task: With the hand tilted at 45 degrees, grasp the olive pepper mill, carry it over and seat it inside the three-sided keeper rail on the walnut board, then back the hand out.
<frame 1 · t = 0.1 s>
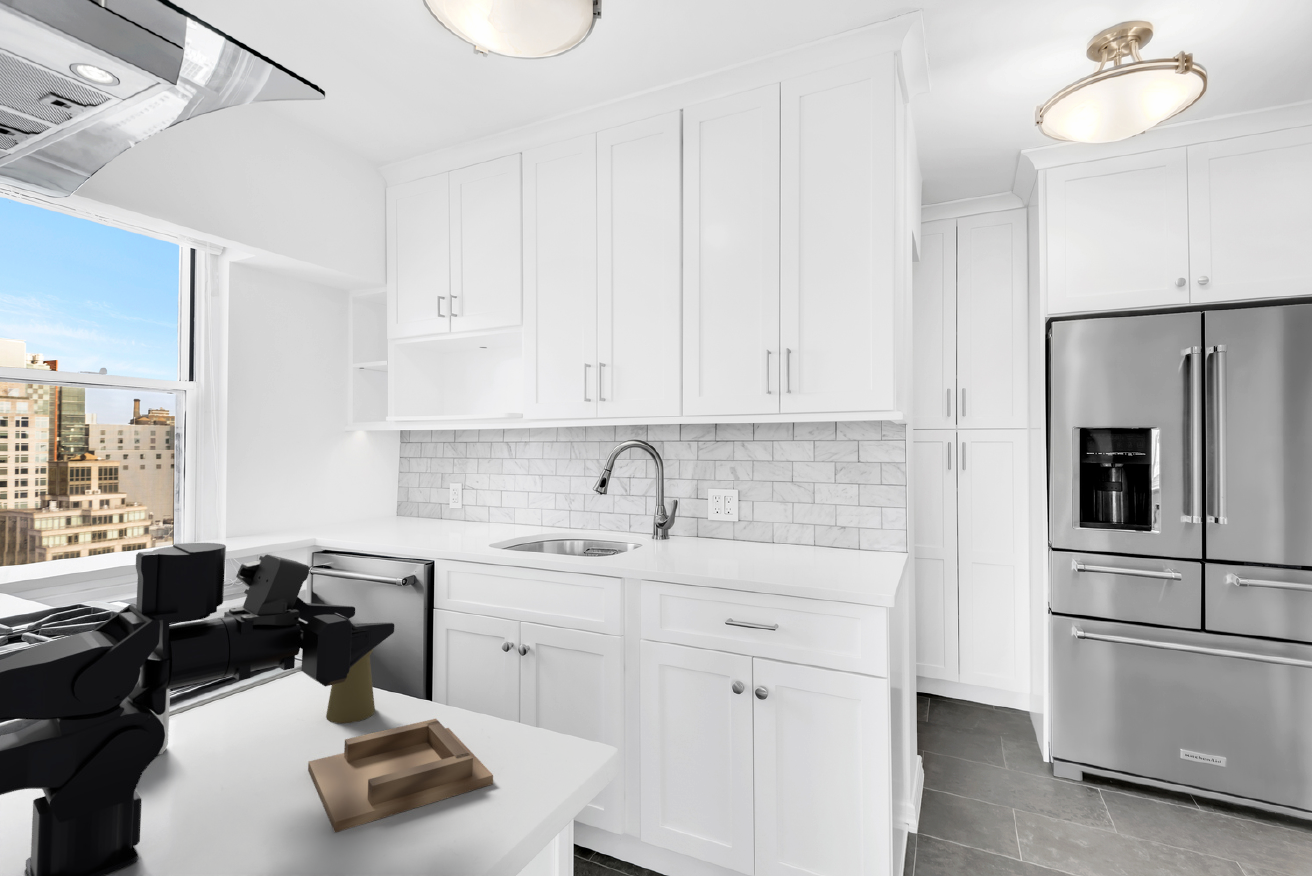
hand: (373, 619, 76), 17 cm above the counter, tool horizontal, fingers open, 9 cm apart
seat: (399, 777, 73), on the counter
eye dropper bottle: (136, 756, 75), on the counter
olive pepper mill: (350, 715, 88), on the counter
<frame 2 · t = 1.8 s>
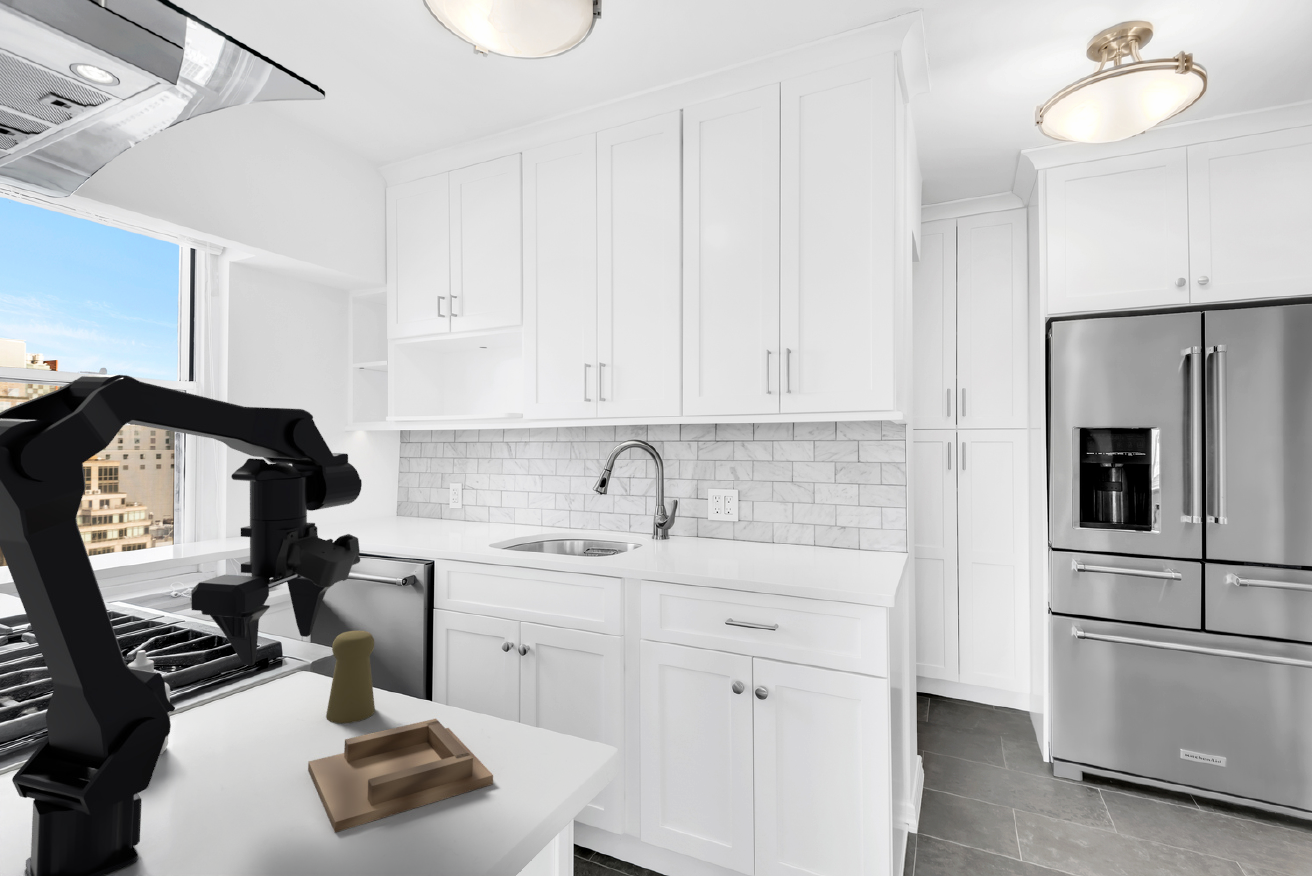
hand: (278, 649, 76), 13 cm above the counter, tool pointing down, fingers open, 9 cm apart
nothing on the counter moved.
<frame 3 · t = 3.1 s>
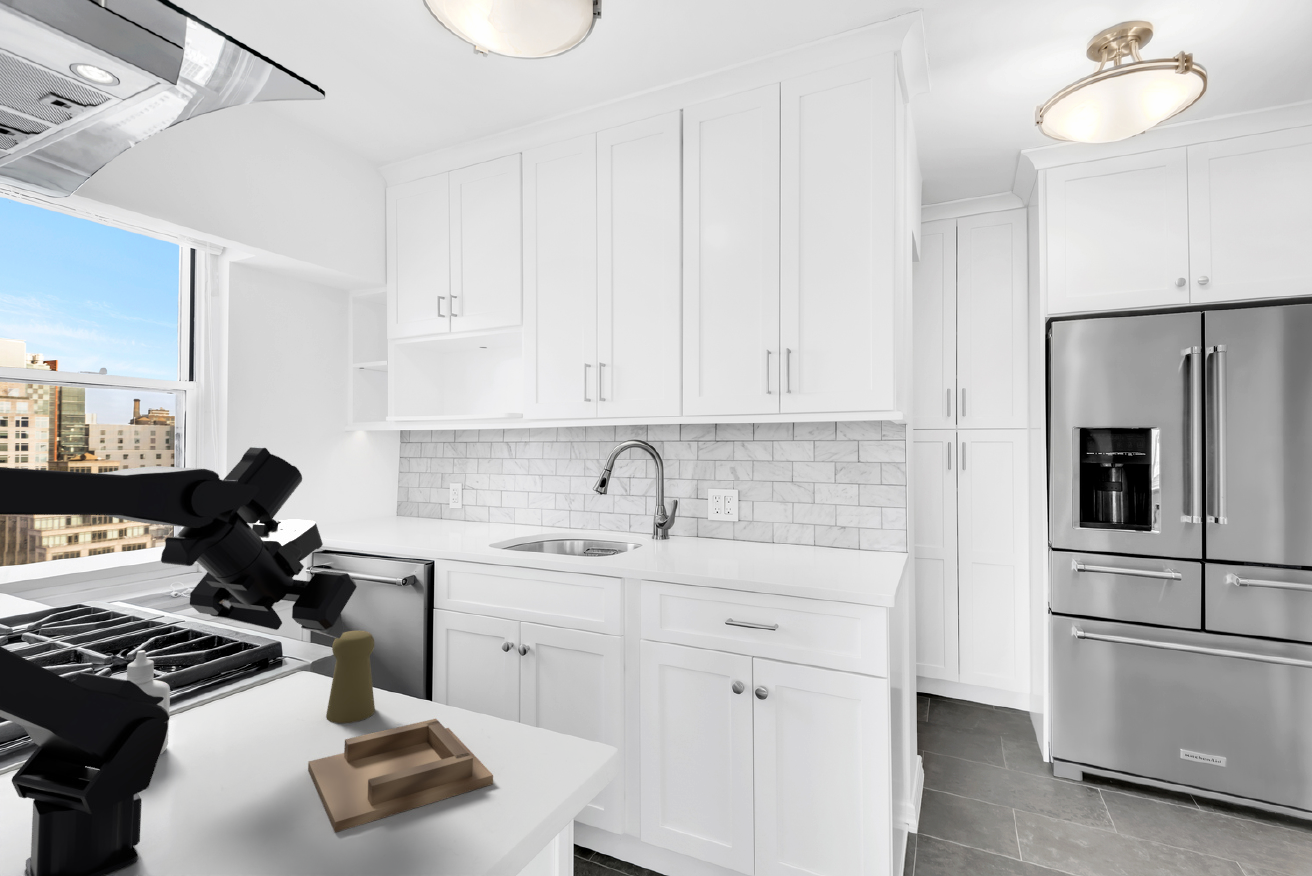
hand: (309, 630, 81), 13 cm above the counter, tool tilted 45°, fingers open, 9 cm apart
nothing on the counter moved.
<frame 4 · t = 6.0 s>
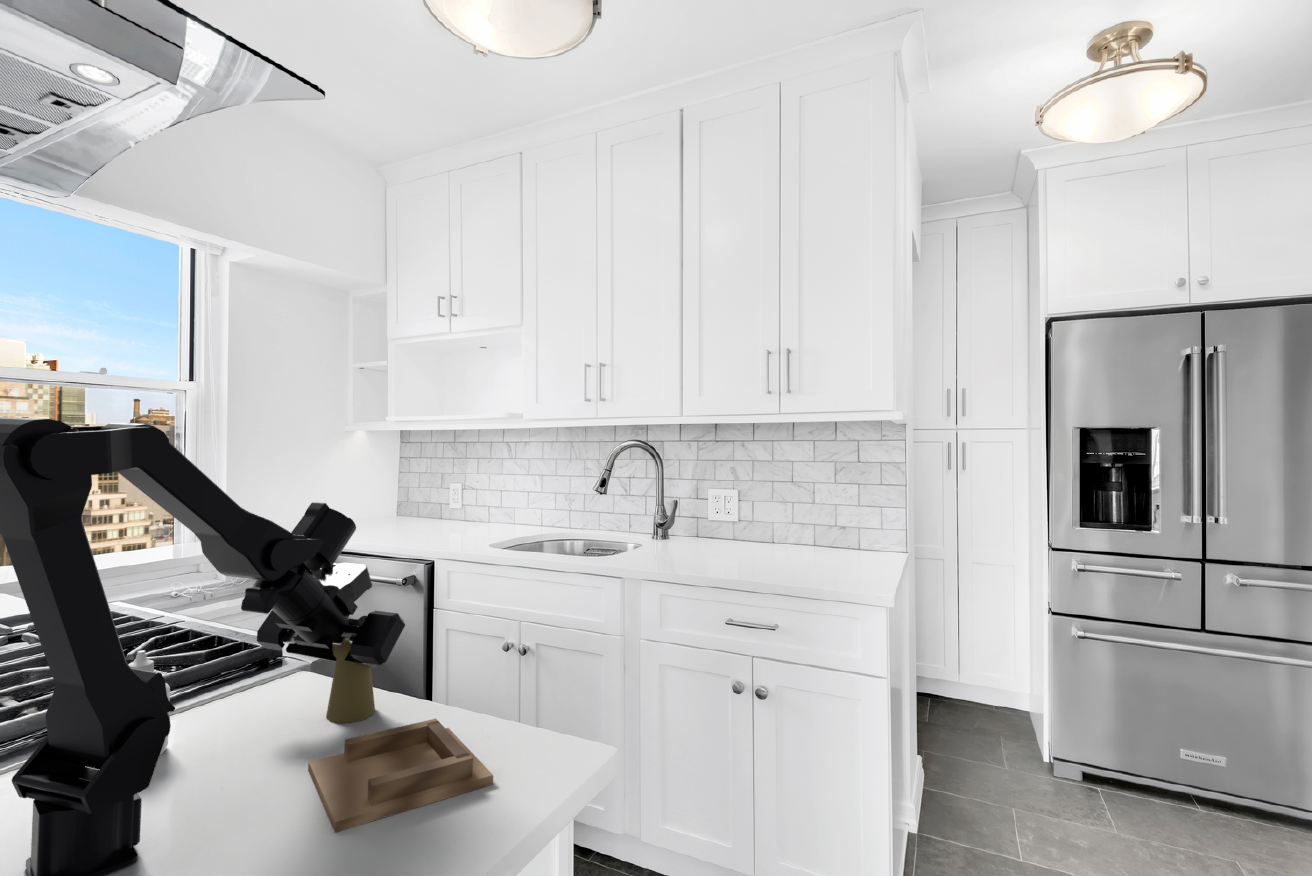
hand: (360, 661, 90), 7 cm above the counter, tool tilted 45°, fingers closed on olive pepper mill, 5 cm apart
olive pepper mill: (350, 714, 88), on the counter, touching gripper
everything else where it was.
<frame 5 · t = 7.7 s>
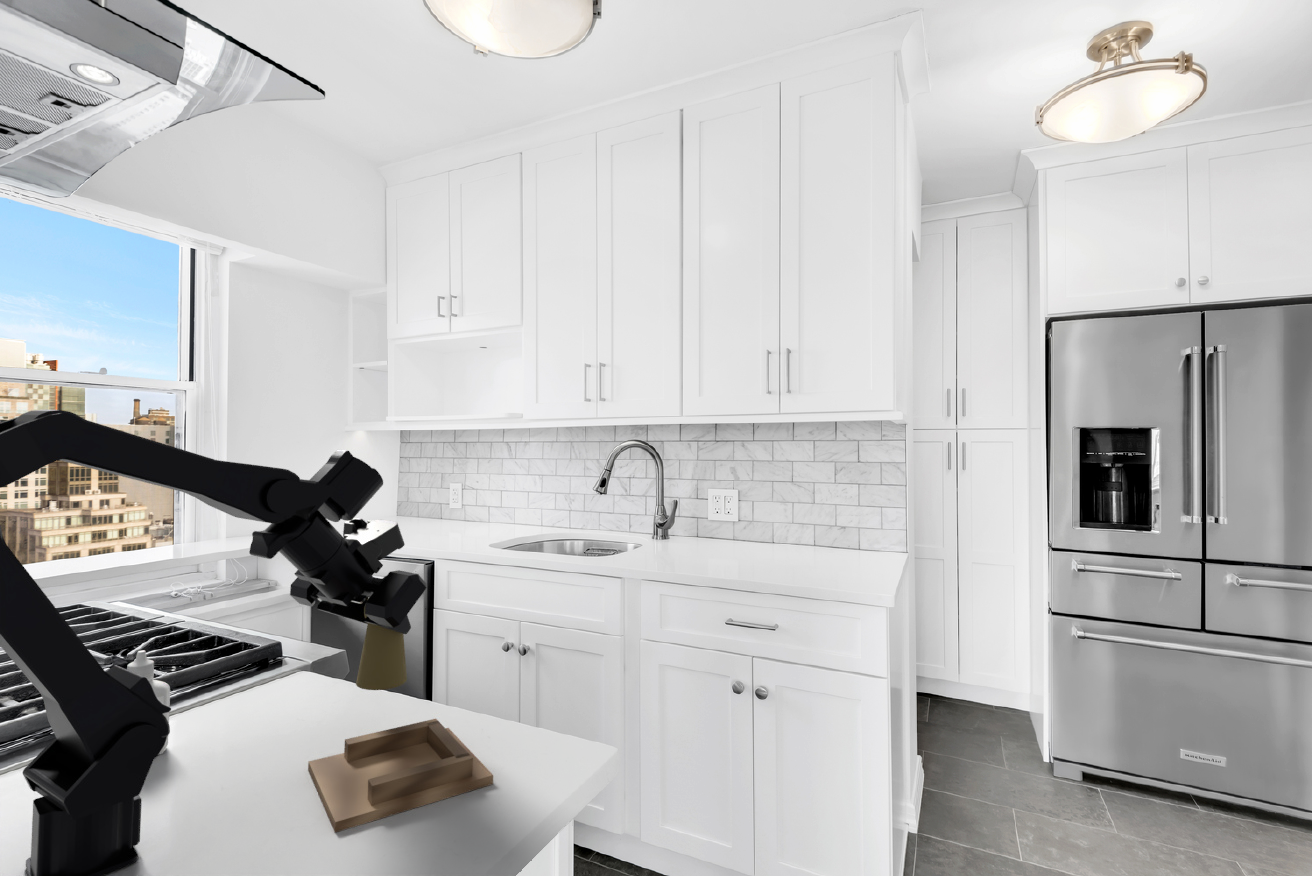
hand: (393, 627, 84), 13 cm above the counter, tool tilted 45°, fingers closed on olive pepper mill, 5 cm apart
olive pepper mill: (381, 682, 83), point 6 cm above the counter, touching gripper
everything else where it was.
when the fingers open (9 cm above the counter, at t = 9.5 s): olive pepper mill drops 2 cm, resting on seat.
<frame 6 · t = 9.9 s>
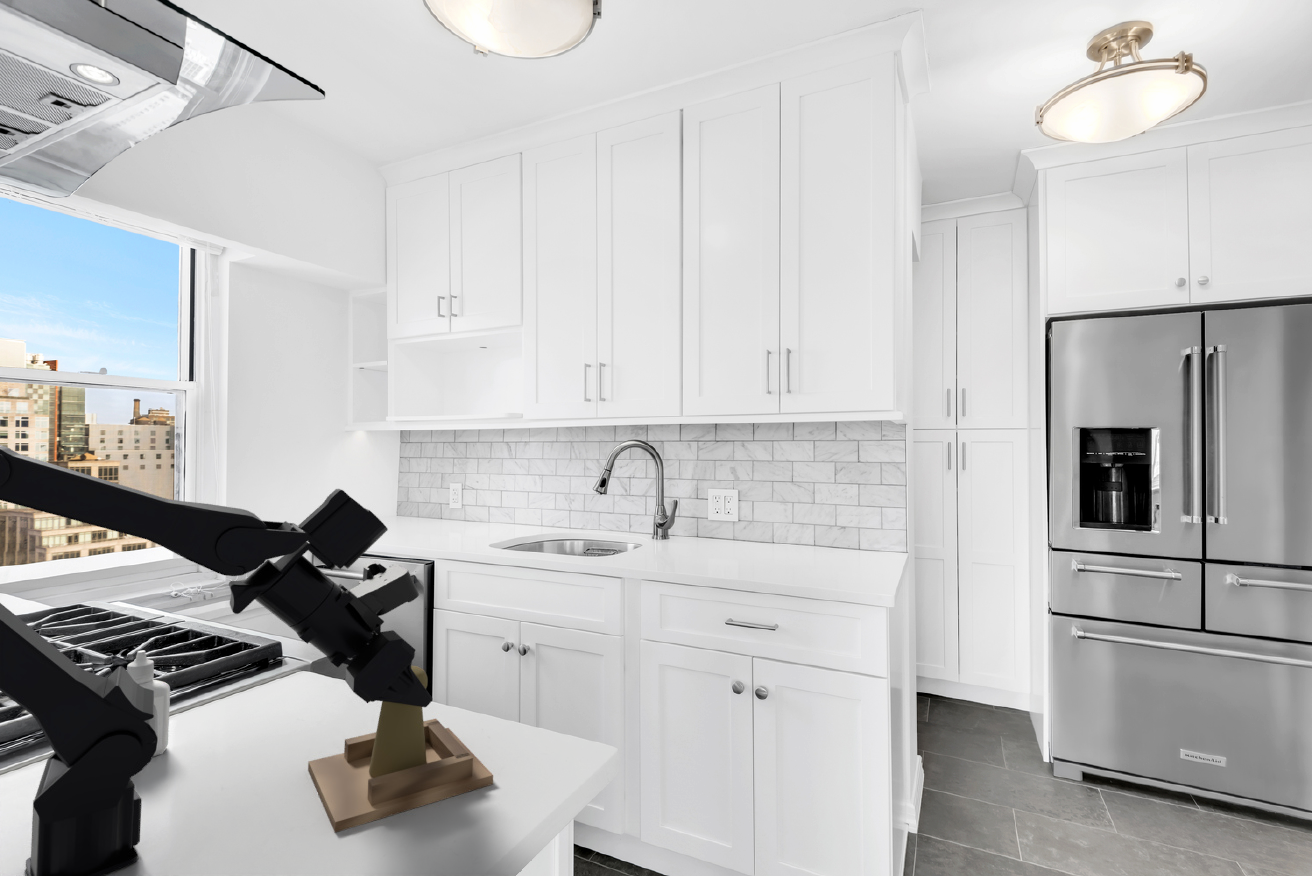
hand: (415, 689, 74), 10 cm above the counter, tool tilted 45°, fingers open, 9 cm apart
olive pepper mill: (398, 769, 73), point 1 cm above the counter, touching seat
everything else where it was.
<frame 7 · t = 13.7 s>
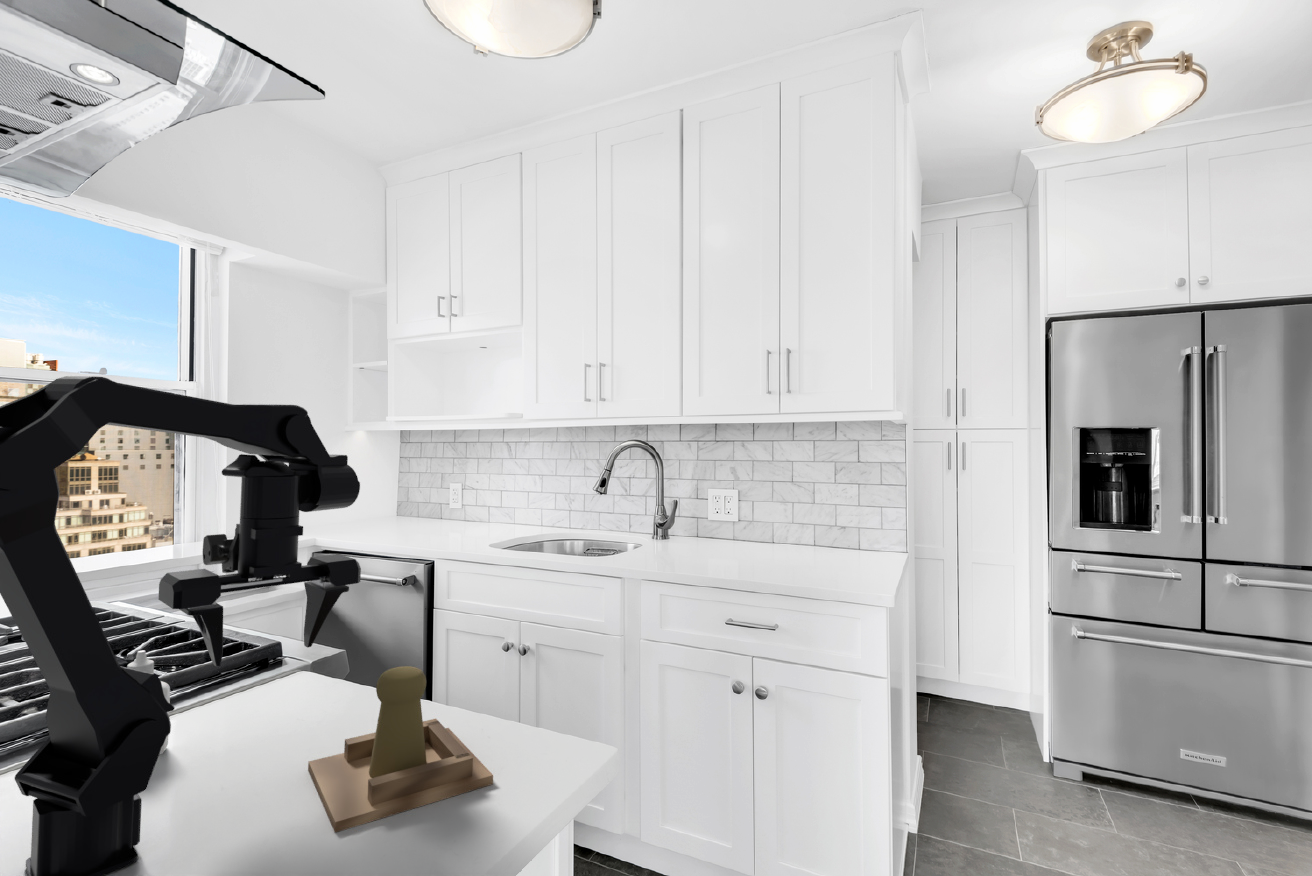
hand: (264, 655, 73), 13 cm above the counter, tool pointing down, fingers open, 9 cm apart
nothing on the counter moved.
at the end: olive pepper mill inside the target area on the seat (0.2 cm from its centre), point 0.8 cm above the seat's base; olive pepper mill tilted 0°; the gripper is holding nothing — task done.
